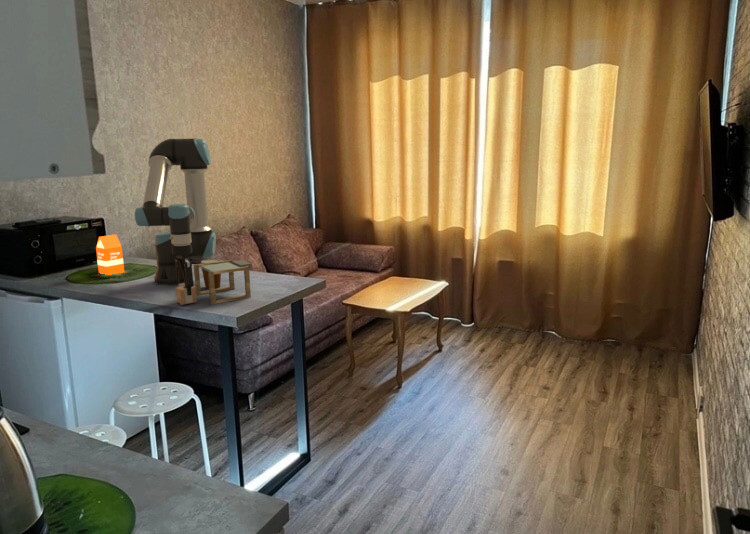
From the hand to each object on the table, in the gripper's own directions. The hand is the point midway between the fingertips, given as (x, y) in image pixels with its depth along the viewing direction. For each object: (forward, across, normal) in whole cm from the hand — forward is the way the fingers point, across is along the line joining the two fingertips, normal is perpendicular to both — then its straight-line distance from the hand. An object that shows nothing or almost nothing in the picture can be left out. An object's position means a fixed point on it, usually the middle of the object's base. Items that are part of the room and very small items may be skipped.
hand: (186, 300), depth 225 cm
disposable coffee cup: (+2, -19, +18) cm, 26 cm away
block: (0, 0, 0) cm, 0 cm away
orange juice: (+2, -71, -13) cm, 72 cm away
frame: (+1, -2, +16) cm, 16 cm away
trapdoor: (-10, -2, +19) cm, 21 cm away
